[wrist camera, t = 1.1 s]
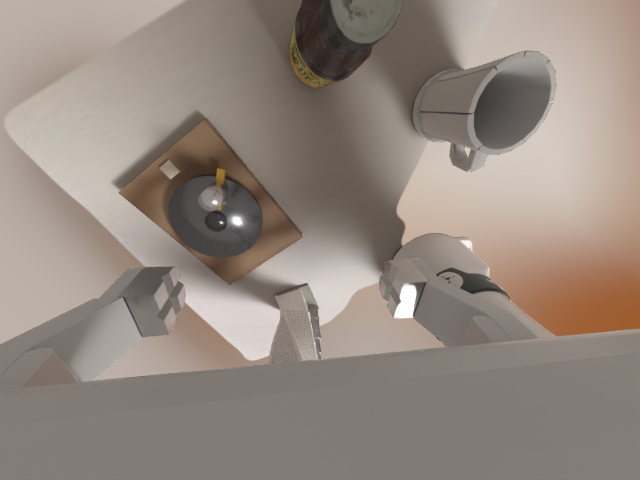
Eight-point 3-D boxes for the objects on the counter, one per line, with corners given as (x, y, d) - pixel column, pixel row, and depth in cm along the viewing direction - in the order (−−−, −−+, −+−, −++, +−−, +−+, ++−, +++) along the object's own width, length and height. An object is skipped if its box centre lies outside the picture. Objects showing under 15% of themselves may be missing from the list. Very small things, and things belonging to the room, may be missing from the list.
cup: (485, 119, 34) (570, 123, 24) (433, 163, 37) (490, 184, 26) (455, 52, 30) (544, 22, 20) (398, 107, 32) (450, 107, 22)
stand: (301, 233, 40) (302, 238, 39) (231, 279, 43) (229, 285, 42) (207, 119, 30) (203, 119, 29) (124, 189, 33) (116, 193, 32)
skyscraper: (281, 319, 50) (275, 519, 26) (265, 293, 46) (240, 501, 21) (318, 307, 49) (348, 499, 25) (305, 279, 45) (326, 476, 21)
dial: (255, 260, 40) (250, 284, 34) (171, 246, 36) (151, 270, 31) (271, 178, 33) (268, 192, 28) (170, 153, 30) (145, 163, 25)
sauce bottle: (280, 68, 29) (270, 9, 11) (305, 10, 26) (338, -172, 9) (325, 100, 31) (372, 91, 14) (352, 50, 29) (448, -38, 11)
